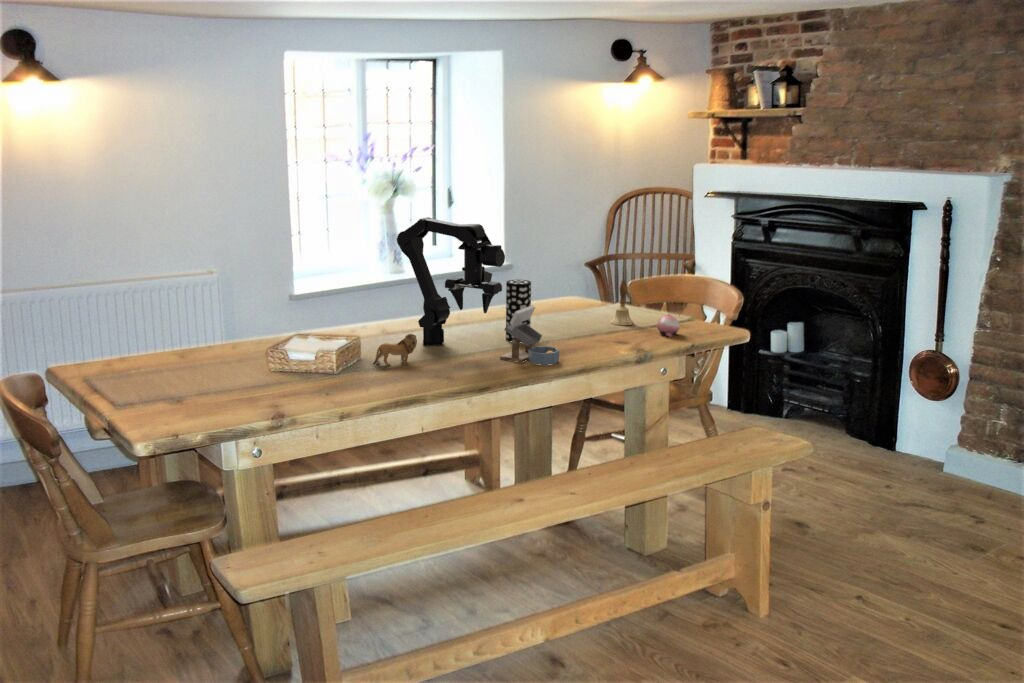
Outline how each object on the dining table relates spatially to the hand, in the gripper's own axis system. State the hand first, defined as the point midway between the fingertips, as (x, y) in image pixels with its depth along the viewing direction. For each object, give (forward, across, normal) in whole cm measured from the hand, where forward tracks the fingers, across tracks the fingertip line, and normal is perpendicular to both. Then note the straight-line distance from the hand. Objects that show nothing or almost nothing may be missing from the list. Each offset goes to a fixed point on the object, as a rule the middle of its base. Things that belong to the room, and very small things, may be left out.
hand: (473, 311), depth 351 cm
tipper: (+6, -18, 0) cm, 19 cm away
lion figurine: (+13, +12, +26) cm, 32 cm away
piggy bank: (+13, -46, -54) cm, 72 cm away
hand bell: (+13, -25, -62) cm, 68 cm away
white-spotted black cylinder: (+13, -5, -20) cm, 24 cm away
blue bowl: (+13, -26, 0) cm, 29 cm away
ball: (+11, -29, 0) cm, 31 cm away
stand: (+13, -17, 0) cm, 22 cm away
